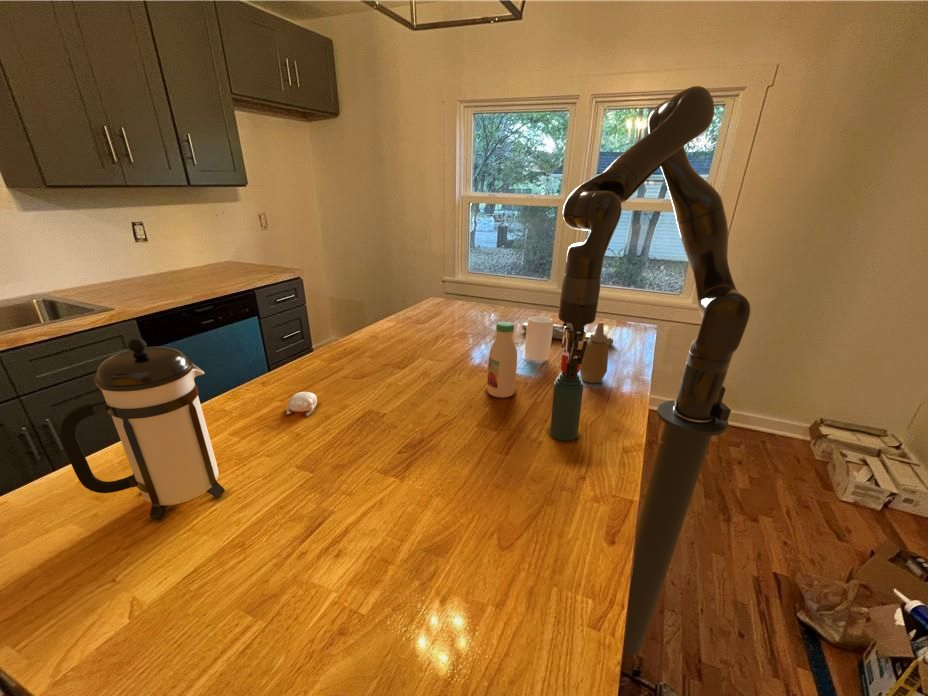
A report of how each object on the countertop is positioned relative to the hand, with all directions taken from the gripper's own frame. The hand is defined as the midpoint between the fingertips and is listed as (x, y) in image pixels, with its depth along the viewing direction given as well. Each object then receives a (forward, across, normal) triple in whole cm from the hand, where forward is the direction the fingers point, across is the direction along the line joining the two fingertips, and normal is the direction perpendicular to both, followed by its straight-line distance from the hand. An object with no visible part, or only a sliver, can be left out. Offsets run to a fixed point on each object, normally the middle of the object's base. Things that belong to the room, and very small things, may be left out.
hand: (568, 374), depth 93 cm
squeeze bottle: (+16, -32, +15) cm, 39 cm away
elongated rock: (+16, -70, +13) cm, 73 cm away
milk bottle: (+16, -21, -13) cm, 29 cm away
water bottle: (+15, 0, +1) cm, 15 cm away
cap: (-1, 0, 0) cm, 1 cm away
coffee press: (+15, +28, -74) cm, 80 cm away
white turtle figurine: (+15, -6, -64) cm, 66 cm away
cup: (+16, -46, -1) cm, 48 cm away
